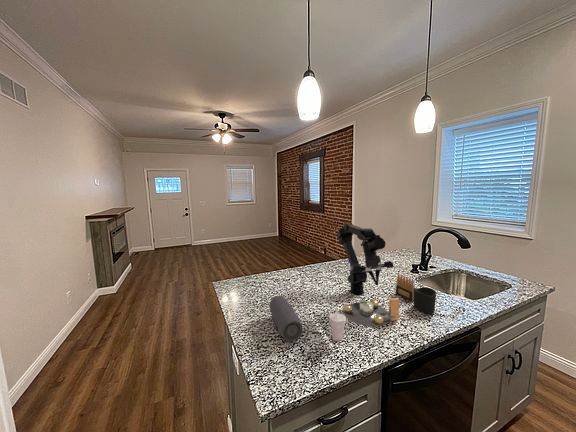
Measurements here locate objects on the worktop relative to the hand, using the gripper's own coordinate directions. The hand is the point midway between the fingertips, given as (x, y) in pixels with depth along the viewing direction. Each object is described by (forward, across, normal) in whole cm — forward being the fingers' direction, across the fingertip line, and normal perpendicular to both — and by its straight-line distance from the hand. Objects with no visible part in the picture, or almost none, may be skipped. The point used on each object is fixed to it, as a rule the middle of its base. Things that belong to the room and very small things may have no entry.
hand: (377, 285), depth 118 cm
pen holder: (+14, +18, +11) cm, 25 cm away
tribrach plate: (+13, -7, -3) cm, 15 cm away
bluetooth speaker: (+13, -39, -26) cm, 48 cm away
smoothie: (+19, -17, -25) cm, 36 cm away
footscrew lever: (+15, +1, -8) cm, 17 cm away
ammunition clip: (+8, +11, +22) cm, 26 cm away
